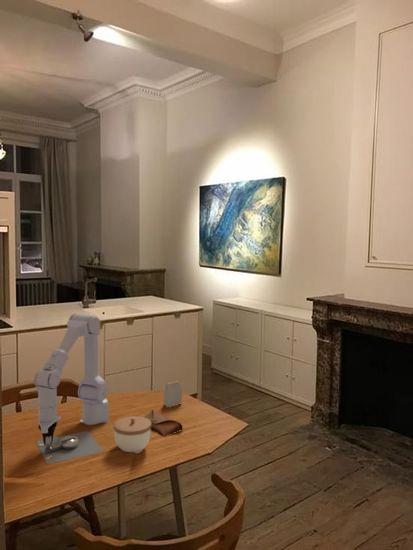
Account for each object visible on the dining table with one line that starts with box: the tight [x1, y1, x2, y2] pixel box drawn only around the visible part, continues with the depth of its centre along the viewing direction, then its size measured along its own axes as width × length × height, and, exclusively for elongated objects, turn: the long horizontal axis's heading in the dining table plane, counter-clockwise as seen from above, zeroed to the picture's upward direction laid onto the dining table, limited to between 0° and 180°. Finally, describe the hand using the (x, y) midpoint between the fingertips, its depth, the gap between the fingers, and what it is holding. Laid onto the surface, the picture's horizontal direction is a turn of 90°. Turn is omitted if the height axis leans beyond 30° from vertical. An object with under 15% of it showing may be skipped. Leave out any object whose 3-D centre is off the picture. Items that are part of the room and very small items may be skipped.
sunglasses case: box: [144, 409, 183, 437], centre depth 173 cm, size 18×7×7 cm
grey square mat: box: [36, 430, 104, 465], centre depth 153 cm, size 18×18×1 cm
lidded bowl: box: [113, 415, 152, 455], centre depth 154 cm, size 13×13×11 cm
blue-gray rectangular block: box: [163, 380, 183, 408], centre depth 195 cm, size 4×7×10 cm, turn 131°
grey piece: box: [45, 435, 78, 453], centre depth 152 cm, size 11×6×5 cm, turn 129°
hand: (48, 444), depth 150 cm, fingers closed, pressing on grey piece
